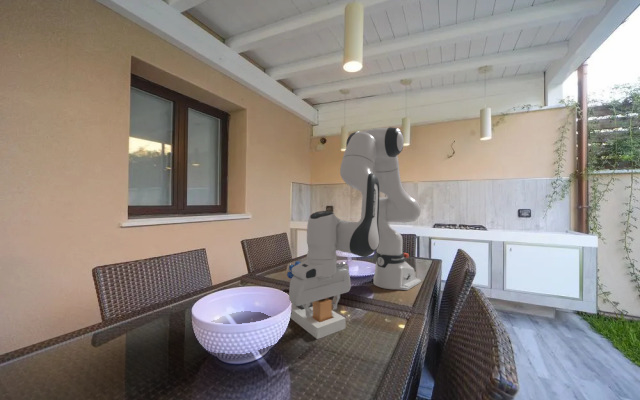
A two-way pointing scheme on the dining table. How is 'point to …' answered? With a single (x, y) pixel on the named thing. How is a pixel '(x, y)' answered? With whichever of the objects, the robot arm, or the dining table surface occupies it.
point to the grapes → (291, 269)
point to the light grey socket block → (318, 323)
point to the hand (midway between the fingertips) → (321, 312)
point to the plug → (322, 309)
